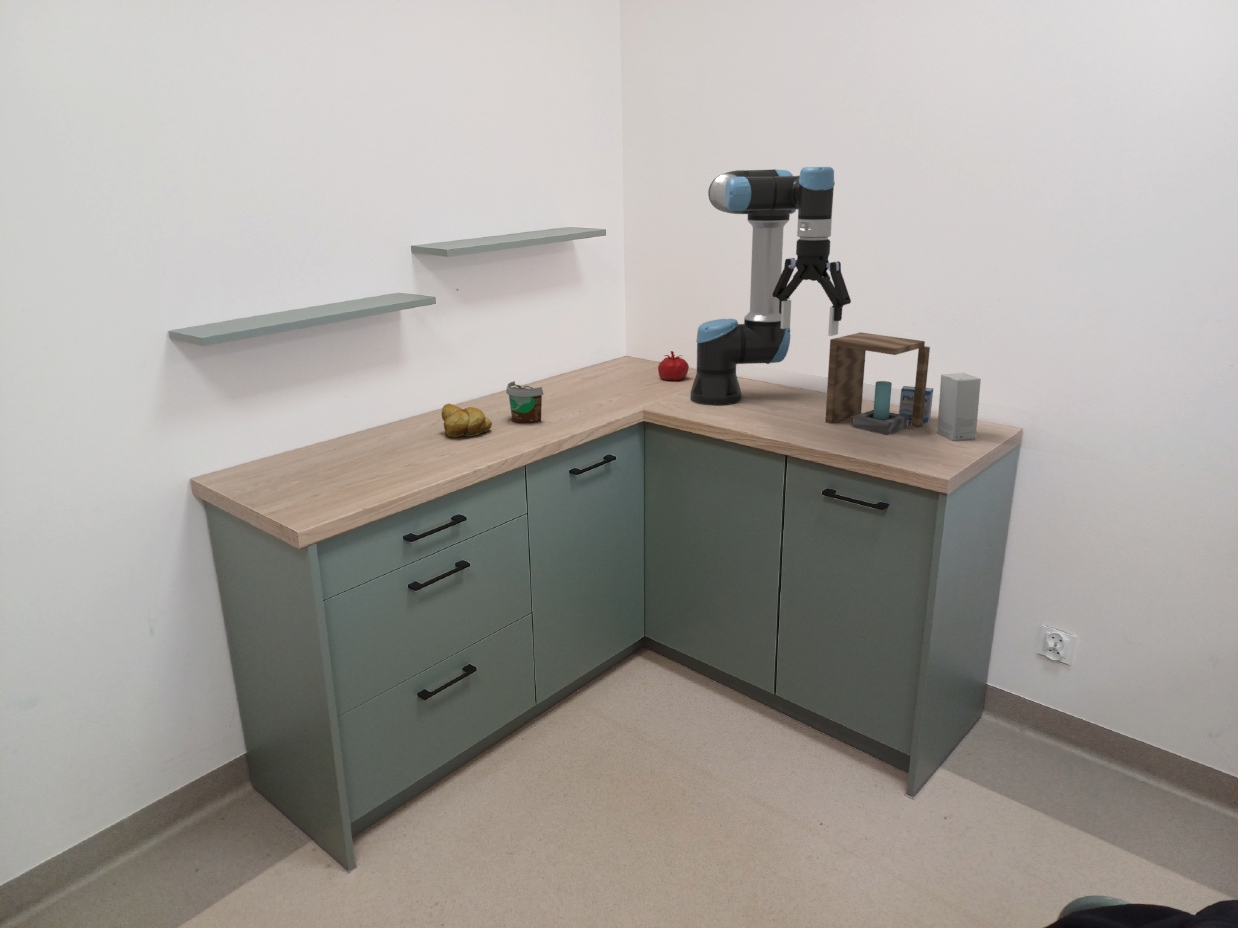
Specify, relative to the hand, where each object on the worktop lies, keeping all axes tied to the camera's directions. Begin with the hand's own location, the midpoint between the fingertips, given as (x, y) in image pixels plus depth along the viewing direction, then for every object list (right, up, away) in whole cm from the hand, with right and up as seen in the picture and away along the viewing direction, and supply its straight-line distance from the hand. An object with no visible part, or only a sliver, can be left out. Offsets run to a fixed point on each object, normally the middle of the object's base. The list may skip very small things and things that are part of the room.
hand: (808, 331), depth 205 cm
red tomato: (-27, -3, +82) cm, 86 cm away
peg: (+24, -21, +25) cm, 41 cm away
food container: (-72, -19, +36) cm, 83 cm away
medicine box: (+36, -19, +32) cm, 51 cm away
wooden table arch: (+23, -20, +28) cm, 42 cm away
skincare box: (+41, -24, +16) cm, 50 cm away
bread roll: (-84, -23, +25) cm, 91 cm away
